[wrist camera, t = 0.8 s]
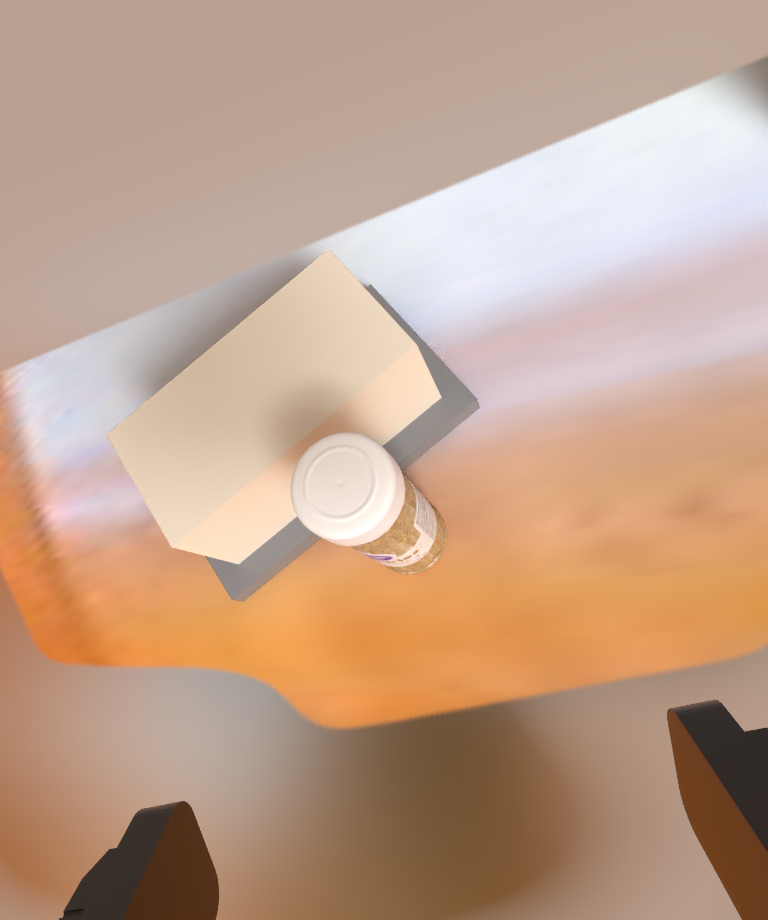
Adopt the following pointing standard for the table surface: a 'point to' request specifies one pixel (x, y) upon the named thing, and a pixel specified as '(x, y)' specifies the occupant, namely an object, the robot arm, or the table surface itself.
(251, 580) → the cream and grey block
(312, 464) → the sprinkles bottle
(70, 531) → the table surface
